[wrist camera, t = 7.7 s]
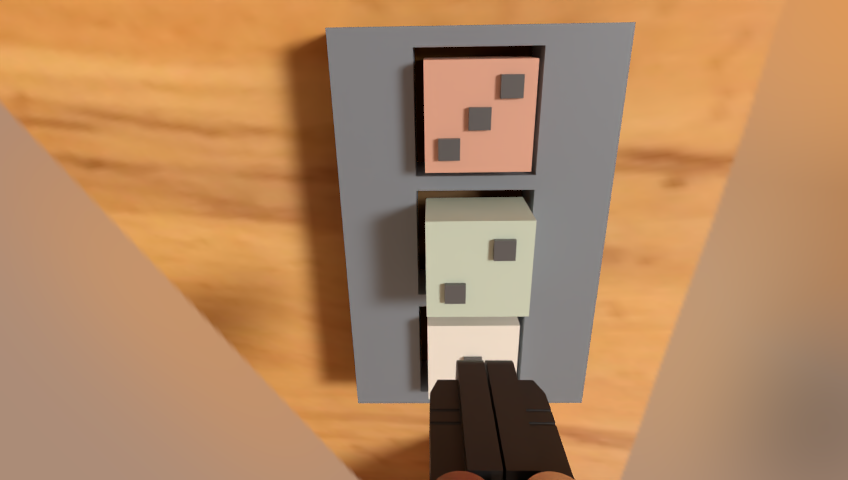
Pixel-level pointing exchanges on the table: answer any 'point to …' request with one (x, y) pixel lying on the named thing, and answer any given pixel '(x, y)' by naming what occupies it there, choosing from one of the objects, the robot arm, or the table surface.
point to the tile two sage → (479, 256)
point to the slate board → (541, 189)
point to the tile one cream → (469, 343)
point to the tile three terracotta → (479, 113)
